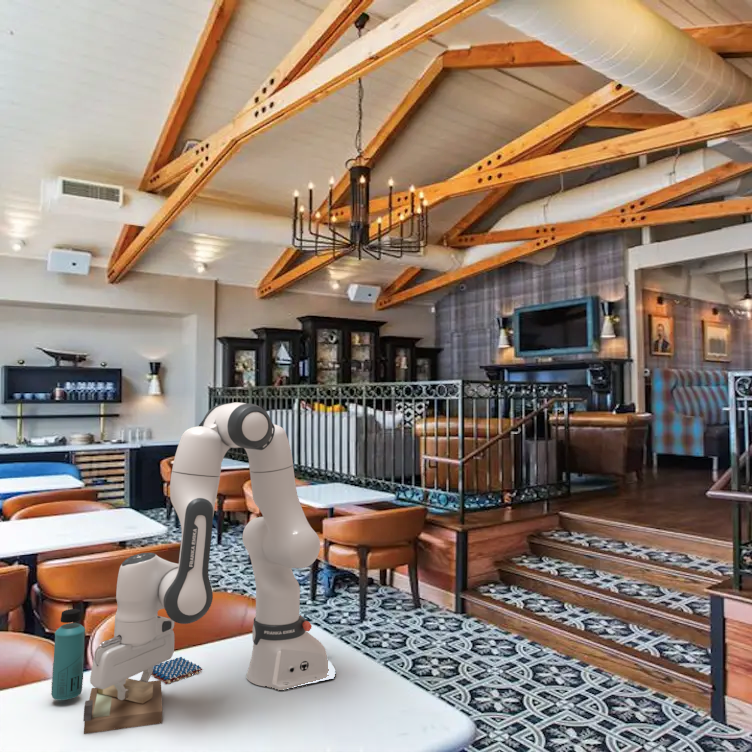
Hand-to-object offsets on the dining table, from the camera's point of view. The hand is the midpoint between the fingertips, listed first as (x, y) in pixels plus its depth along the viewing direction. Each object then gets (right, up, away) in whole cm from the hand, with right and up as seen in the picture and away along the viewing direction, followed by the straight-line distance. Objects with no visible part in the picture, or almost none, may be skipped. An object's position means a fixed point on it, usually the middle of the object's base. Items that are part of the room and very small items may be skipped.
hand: (133, 693), depth 135 cm
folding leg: (-3, -1, +2) cm, 3 cm away
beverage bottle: (-17, -4, +4) cm, 18 cm away
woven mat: (+2, -6, +21) cm, 22 cm away
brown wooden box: (-2, -4, 0) cm, 4 cm away
